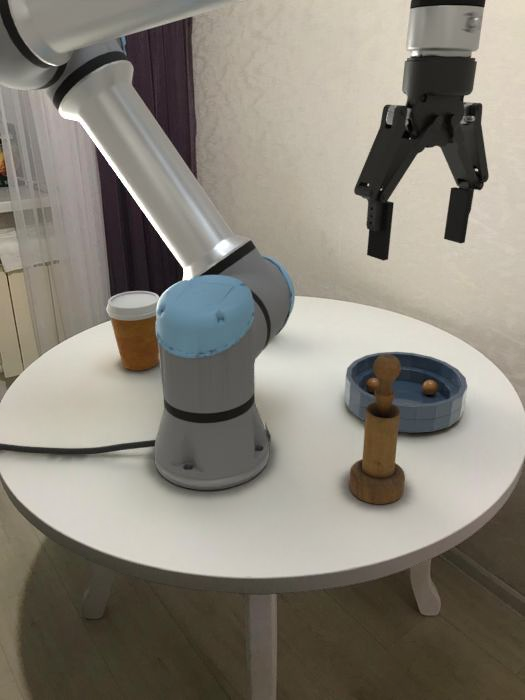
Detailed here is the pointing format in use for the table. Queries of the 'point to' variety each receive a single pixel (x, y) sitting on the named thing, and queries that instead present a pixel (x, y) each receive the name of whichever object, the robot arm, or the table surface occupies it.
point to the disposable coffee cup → (135, 328)
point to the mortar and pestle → (380, 441)
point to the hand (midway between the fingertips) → (417, 249)
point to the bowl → (411, 391)
